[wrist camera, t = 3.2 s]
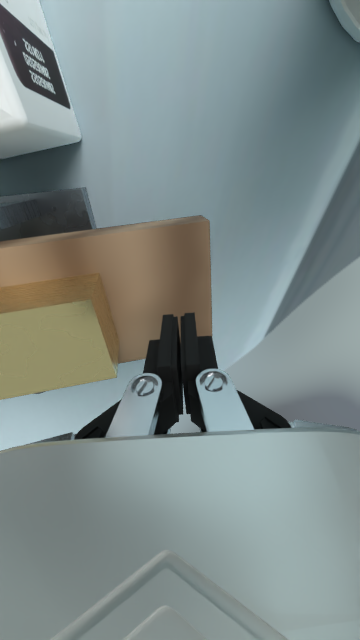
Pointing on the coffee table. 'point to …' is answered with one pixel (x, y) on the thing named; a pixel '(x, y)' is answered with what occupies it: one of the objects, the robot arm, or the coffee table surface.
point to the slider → (55, 335)
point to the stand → (45, 214)
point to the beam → (127, 273)
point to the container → (31, 84)
